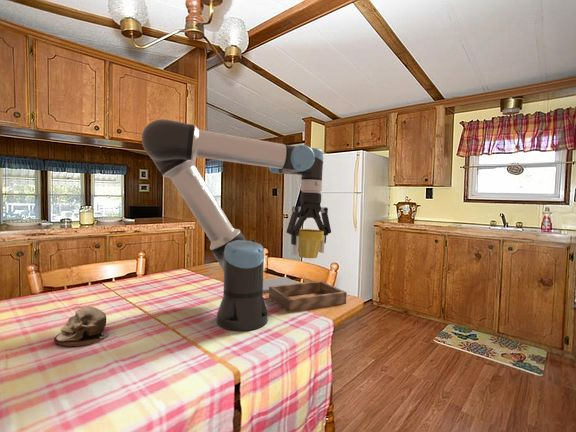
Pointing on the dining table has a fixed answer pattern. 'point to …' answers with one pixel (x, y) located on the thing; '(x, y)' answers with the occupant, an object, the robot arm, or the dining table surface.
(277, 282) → the slate tray
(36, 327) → the dining table surface
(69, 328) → the skull
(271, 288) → the walnut crate
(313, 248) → the plant pot
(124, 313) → the dining table surface
